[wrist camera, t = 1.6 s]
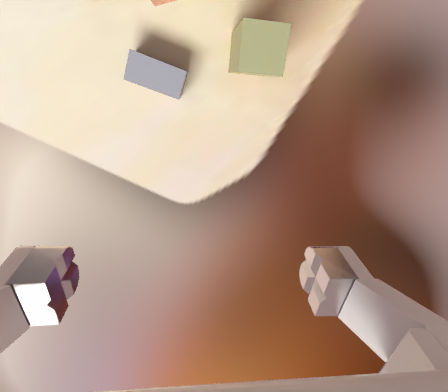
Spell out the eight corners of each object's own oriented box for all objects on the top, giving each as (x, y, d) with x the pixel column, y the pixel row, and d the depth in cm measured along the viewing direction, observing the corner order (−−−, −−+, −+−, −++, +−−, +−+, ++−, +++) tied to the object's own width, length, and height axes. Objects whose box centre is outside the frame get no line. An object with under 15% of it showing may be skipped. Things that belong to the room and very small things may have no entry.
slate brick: (130, 78, 31) (123, 79, 28) (136, 51, 30) (129, 48, 27) (180, 97, 32) (178, 99, 29) (187, 71, 31) (186, 71, 28)
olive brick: (228, 72, 31) (238, 72, 23) (231, 33, 30) (243, 17, 21) (261, 75, 32) (282, 76, 24) (267, 37, 30) (291, 23, 22)
